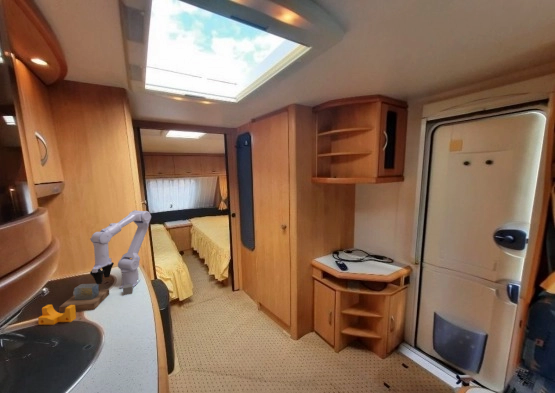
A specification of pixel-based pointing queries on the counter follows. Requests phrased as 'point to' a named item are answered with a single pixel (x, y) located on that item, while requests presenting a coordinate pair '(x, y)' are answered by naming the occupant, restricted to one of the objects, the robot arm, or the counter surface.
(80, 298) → the block
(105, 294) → the walnut stand
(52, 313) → the pipe clamp
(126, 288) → the grey rubber block
